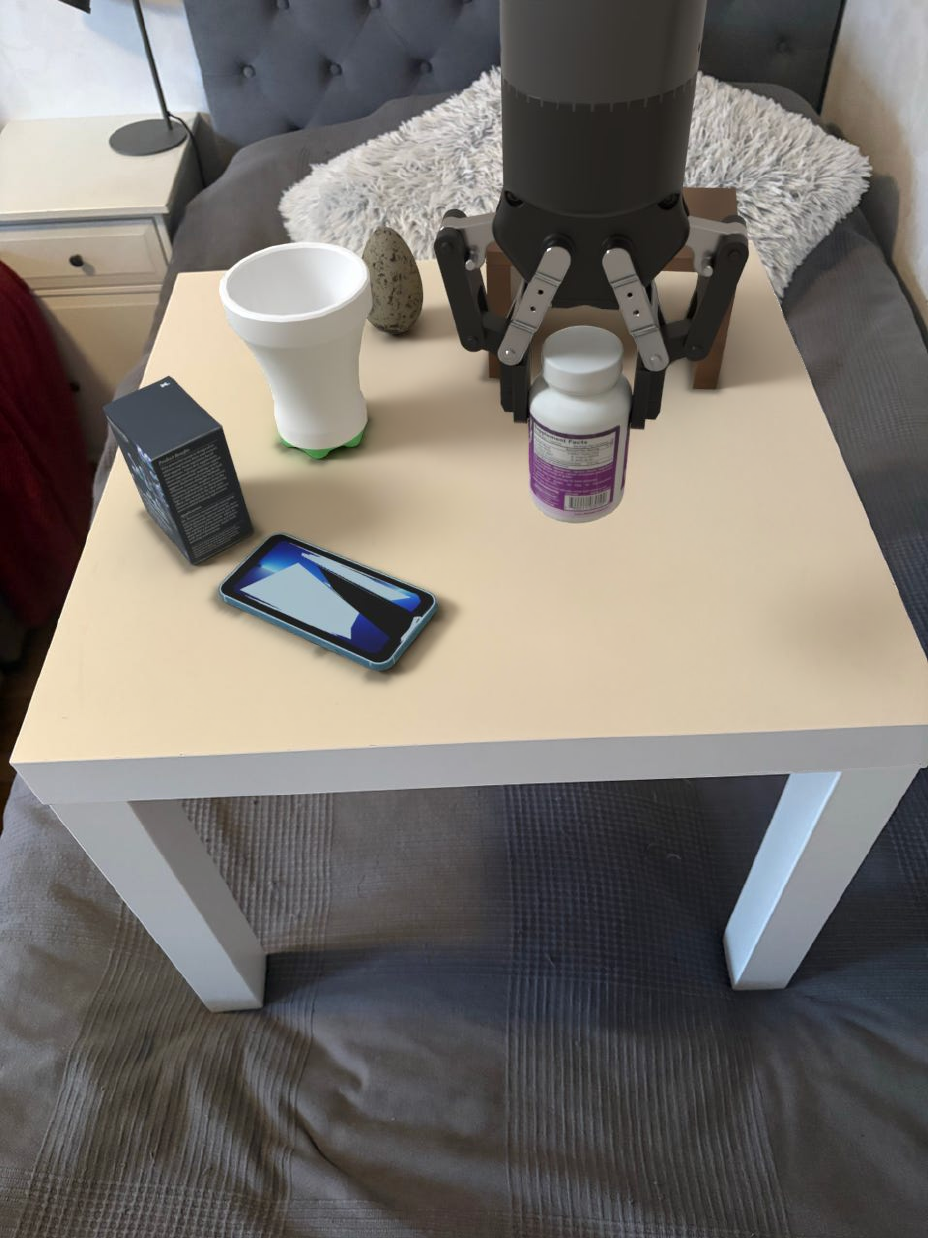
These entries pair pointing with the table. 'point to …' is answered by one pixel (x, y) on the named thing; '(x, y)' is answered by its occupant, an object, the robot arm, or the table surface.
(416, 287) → the decorative egg
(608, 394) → the pill bottle
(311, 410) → the cup
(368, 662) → the smartphone
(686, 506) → the table surface
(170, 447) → the box
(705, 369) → the desk shelf
